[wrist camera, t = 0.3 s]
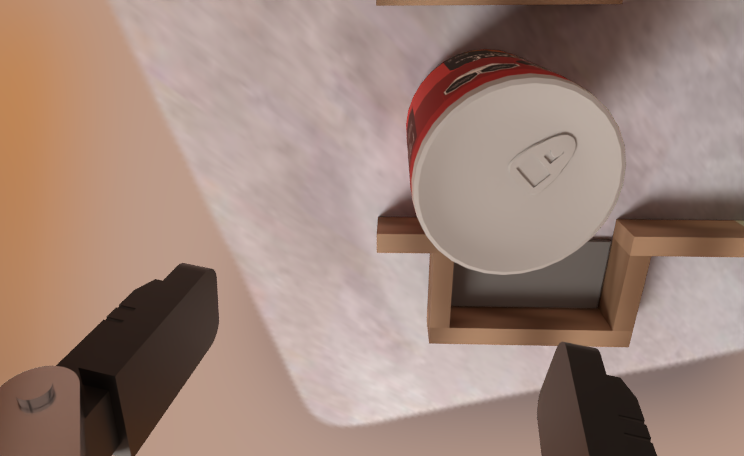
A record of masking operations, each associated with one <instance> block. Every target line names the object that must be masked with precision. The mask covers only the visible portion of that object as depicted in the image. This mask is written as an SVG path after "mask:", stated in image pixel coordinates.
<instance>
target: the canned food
mask: <svg viewBox="0 0 744 456" xmlns="http://www.w3.org/2000/svg"><path fill="white" fill-rule="evenodd" d="M406 130H407V147H408V160H409V174H410V187H411V192H412V200H413V204H414V208H415V212H416V216H417V218H418V220H419V222H420V224H421V226H422V228H423V230H424V232H425V234H426V236H427V237H428V239H429V240H430V241H431V242H432V243H433V245H434V246H435V247H436V248H437V249H438V250H439V251H440V252H441V253H443V254H444V255H445V256H446V257H448V258H449V259H450V260H451V261H453V262H456V263H458V264H460V265H462V266H464V267H466V268H468V269H471V270H475V271H479V272H482V273H488V274H499V275H508V274H520V273H526V272H530V271H534V270H538V269H542V268H544V267H547V266H549V265H551V264H554V263H556V262H558V261H561V260H562V259H564V258H565V257H567V256H569V255H570V254H572V253H573V252H575V251H577V250H578V249H579V248H580V247H582V246H583V245H584V244H585V243H586V242H587V241H589V240H590V239H591V238H592V237H593V236H594V235H595V234H596V232H597V231H598V230H599V229H600V228H601V226H602V225H603V224H604V223H605V222H606V220H607V219H608V217H609V215H610V213H611V212H612V210H613V208H614V207H615V205H616V203H617V200H618V197H619V195H620V192H621V189H622V186H623V182H624V175H625V168H626V158H625V145H624V142H623V139H622V136H621V132H620V129H619V126H618V125H617V123H616V121H615V120H614V118H613V117H612V115H611V113H610V112H609V110H608V109H607V108H606V107H605V106H604V105H603V104H602V103H601V102H600V101H599V100H598V99H597V98H596V97H595V96H594V95H593V94H592V93H591V92H589V91H588V90H586V89H584V88H583V87H581V86H579V85H577V84H576V83H574V82H572V81H570V80H568V79H567V78H565V77H563V76H561V75H559V74H556V73H554V72H552V71H549V70H547V69H545V68H543V67H540V66H538V65H536V64H534V63H531V62H529V61H527V60H525V59H522V58H520V57H518V56H515V55H513V54H510V53H507V52H503V51H500V50H489V49H483V50H475V51H469V52H466V53H463V54H460V55H457V56H455V57H453V58H451V59H449V60H447V61H445V62H444V63H442V64H441V65H440V66H438V67H437V68H436V69H435V70H433V71H432V72H431V73H430V74H429V75H428V76H427V78H426V79H425V80H424V81H423V82H422V83H421V85H420V86H419V88H418V90H417V92H416V93H415V95H414V97H413V99H412V102H411V105H410V108H409V110H408V116H407V123H406Z"/></svg>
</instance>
